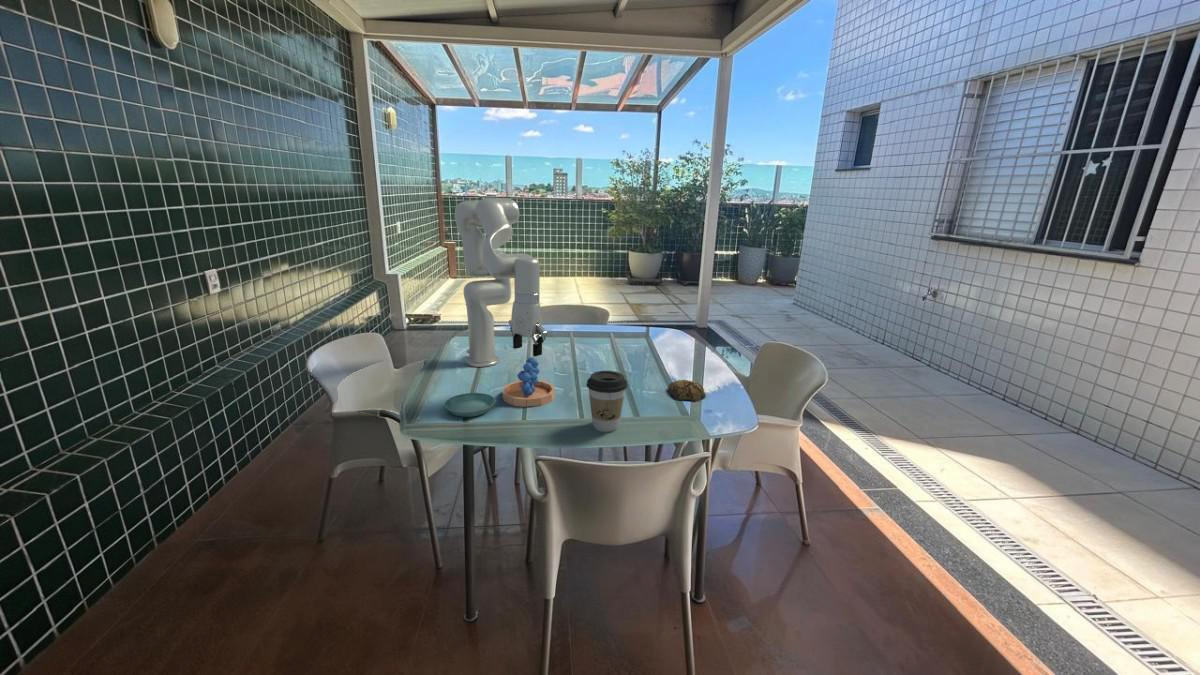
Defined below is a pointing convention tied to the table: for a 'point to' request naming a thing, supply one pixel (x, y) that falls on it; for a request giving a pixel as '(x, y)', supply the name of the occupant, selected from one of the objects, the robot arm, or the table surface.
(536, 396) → the platter
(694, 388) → the bread roll
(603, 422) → the coffee cup
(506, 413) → the table surface
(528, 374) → the grapes
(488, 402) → the saucer
